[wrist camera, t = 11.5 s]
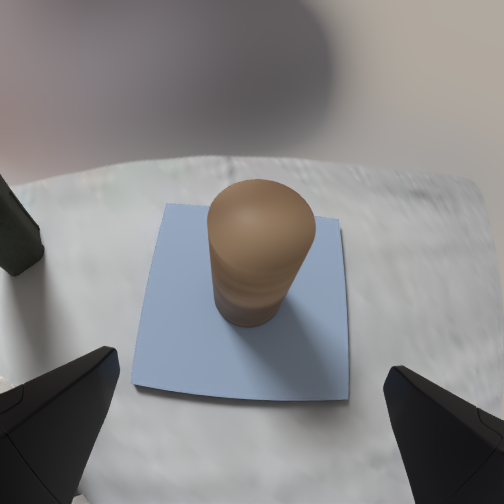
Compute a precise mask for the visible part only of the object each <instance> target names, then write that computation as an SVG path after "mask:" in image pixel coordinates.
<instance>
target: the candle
mask: <svg viewBox="0 0 504 504" xmlns="http://www.w3.org/2000/svg"><path fill="white" fill-rule="evenodd" d="M38 230H39V226H38V225H37V224H36V222H35V221H34V220H33V218H32V217H31V216H30V215H29V213H28V212H27V211H26V209H25V208H24V207H23V206H22V204H21V203H20V201H19V200H18V199H17V197H16V196H15V195H14V193H13V192H12V190H11V189H10V188H9V186H8V185H7V183H6V182H5V181H4V179H3V178H2V176H1V175H0V267H2V268H3V269H4V270H5V271H6V272H8V273H9V274H10V275H11V276H17V275H19V274H20V273H22V272H23V271H24V270H26V269H27V268H29V267H30V266H32V265H33V264H35V263H36V262H37V261H39V260H40V259H41V257H42V256H43V253H44V246H43V245H42V244H41V239H40V235H39V231H38Z"/></svg>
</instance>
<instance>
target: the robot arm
mask: <svg viewBox="0 0 504 504" xmlns="http://www.w3.org/2000/svg"><path fill="white" fill-rule="evenodd" d="M119 374H120V366H119V360H118V354H117V350H116V349H115V348H113V347H108V346H103V347H101V348H98V349H96V350H94V351H92V352H90V353H88V354H86V355H84V356H82V357H80V358H78V359H75V360H73V361H71V362H69V363H67V364H65V365H63V366H61V367H58V368H56V369H54V370H52V371H50V372H48V373H46V374H43V375H41V376H39V377H37V378H35V379H33V380H30V381H28V382H26V383H24V384H21V385H19V386H17V387H15V388H13V389H10V390H8V391H6V392H3V393H1V394H0V504H72V501H73V498H74V495H75V493H76V490H77V487H78V484H79V482H80V479H81V476H82V474H83V471H84V469H85V466H86V464H87V461H88V459H89V456H90V454H91V451H92V449H93V446H94V444H95V441H96V439H97V436H98V434H99V432H100V429H101V427H102V425H103V422H104V420H105V418H106V415H107V413H108V410H109V407H110V404H111V400H112V397H113V394H114V390H115V387H116V384H117V381H118V378H119ZM383 391H384V396H385V400H386V404H387V408H388V413H389V417H390V422H391V426H392V429H393V432H394V435H395V438H396V441H397V444H398V447H399V450H400V453H401V457H402V460H403V463H404V466H405V469H406V473H407V476H408V479H409V483H410V486H411V490H412V493H413V497H414V500H415V504H504V420H501V419H499V418H497V417H495V416H493V415H491V414H489V413H487V412H485V411H483V410H482V409H480V408H476V406H474V405H472V404H470V403H469V402H467V401H465V400H463V399H461V398H460V397H458V396H456V395H454V394H452V393H451V392H449V391H447V390H445V389H443V388H442V387H440V386H438V385H436V384H435V383H433V382H431V381H429V380H428V379H426V378H424V377H422V376H420V375H419V374H417V373H415V372H413V371H412V370H410V369H408V368H406V367H405V366H402V365H401V366H393V367H391V369H390V371H389V373H388V376H387V378H386V381H385V383H384V386H383Z"/></svg>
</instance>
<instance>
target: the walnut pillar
mask: <svg viewBox="0 0 504 504" xmlns="http://www.w3.org/2000/svg"><path fill="white" fill-rule="evenodd" d="M207 229H208V241H209V253H210V263H211V274H212V284H213V293H214V301H215V305H216V307H217V309H218V311H219V313H220V314H221V315H222V316H223V317H224V318H225V319H226V320H227V321H228V322H230V323H232V324H234V325H236V326H240V327H249V328H250V327H257V326H260V325H263V324H265V323H267V322H268V321H269V320H271V319H272V318H273V317H274V316H275V314H276V313H277V311H278V309H279V308H280V306H281V304H282V302H283V300H284V298H285V296H286V294H287V293H288V291H289V289H290V287H291V285H292V283H293V281H294V279H295V277H296V275H297V273H298V272H299V270H300V268H301V266H302V264H303V262H304V260H305V258H306V256H307V254H308V252H309V250H310V248H311V246H312V244H313V241H314V239H315V234H316V223H315V218H314V215H313V212H312V210H311V208H310V207H309V205H308V204H307V202H306V201H305V200H304V199H303V198H302V197H301V196H300V195H299V194H298V193H297V192H295V191H294V190H292V189H291V188H289V187H287V186H285V185H283V184H280V183H278V182H274V181H269V180H260V179H255V180H246V181H242V182H238V183H235V184H233V185H231V186H229V187H227V188H226V189H224V190H223V191H222V192H221V193H219V194H218V195H217V197H216V198H215V199H214V201H213V202H212V204H211V206H210V208H209V211H208V215H207Z"/></svg>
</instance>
